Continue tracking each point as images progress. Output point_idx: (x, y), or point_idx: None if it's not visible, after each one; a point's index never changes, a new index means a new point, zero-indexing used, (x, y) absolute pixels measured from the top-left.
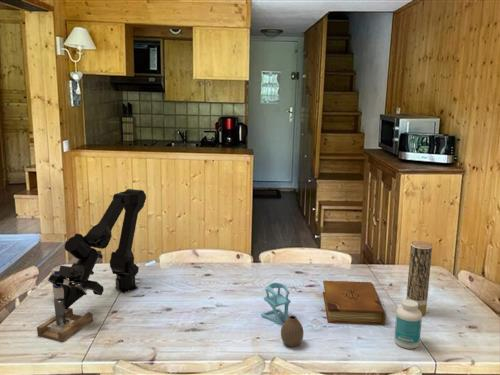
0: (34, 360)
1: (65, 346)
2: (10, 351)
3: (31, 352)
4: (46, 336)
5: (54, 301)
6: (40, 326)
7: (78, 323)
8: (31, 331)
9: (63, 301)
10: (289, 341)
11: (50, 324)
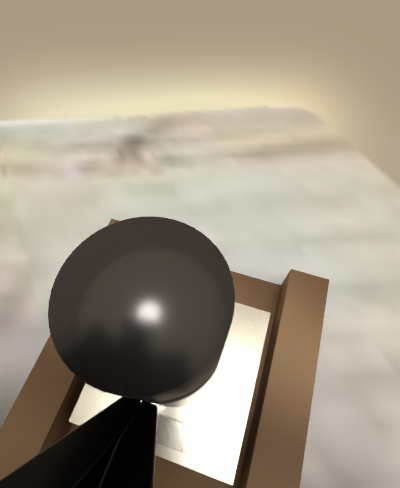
0: (196, 121)
1: (98, 215)
2: (345, 165)
3: (242, 164)
4: (239, 276)
5: (212, 253)
6: (310, 293)
7: (32, 377)
8: (390, 355)
9: (57, 285)
10: None
11: (257, 342)
